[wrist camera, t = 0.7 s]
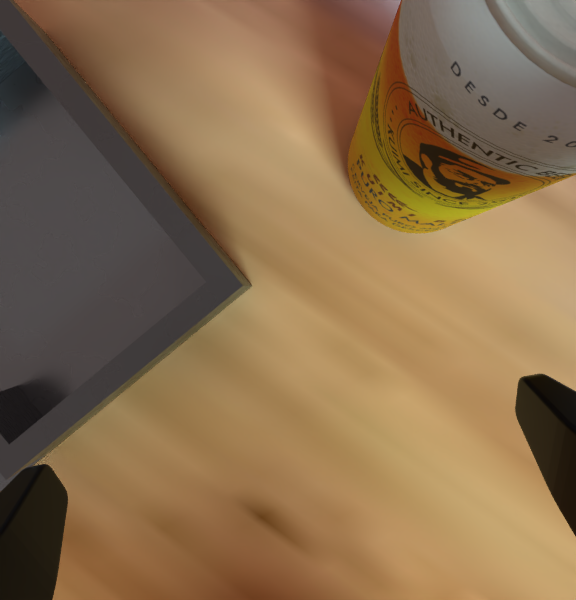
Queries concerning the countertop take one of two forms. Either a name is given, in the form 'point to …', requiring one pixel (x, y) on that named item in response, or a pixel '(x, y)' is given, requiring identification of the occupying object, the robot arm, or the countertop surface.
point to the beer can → (466, 110)
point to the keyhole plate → (84, 252)
